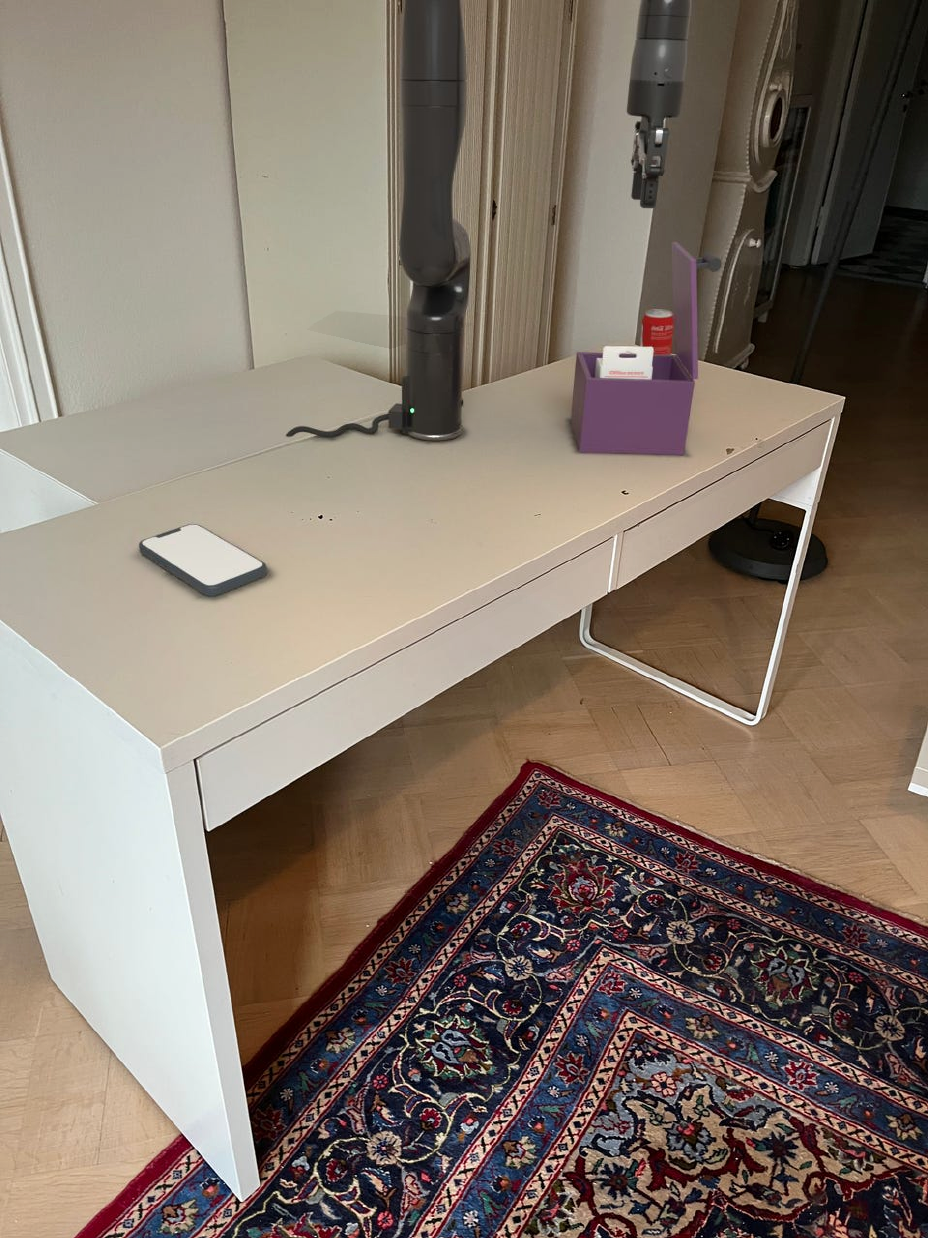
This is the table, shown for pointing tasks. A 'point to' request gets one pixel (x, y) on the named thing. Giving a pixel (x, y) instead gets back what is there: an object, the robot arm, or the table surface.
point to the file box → (632, 408)
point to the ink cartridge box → (625, 363)
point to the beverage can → (657, 331)
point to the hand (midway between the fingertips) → (642, 203)
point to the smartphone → (203, 559)
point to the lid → (688, 303)
